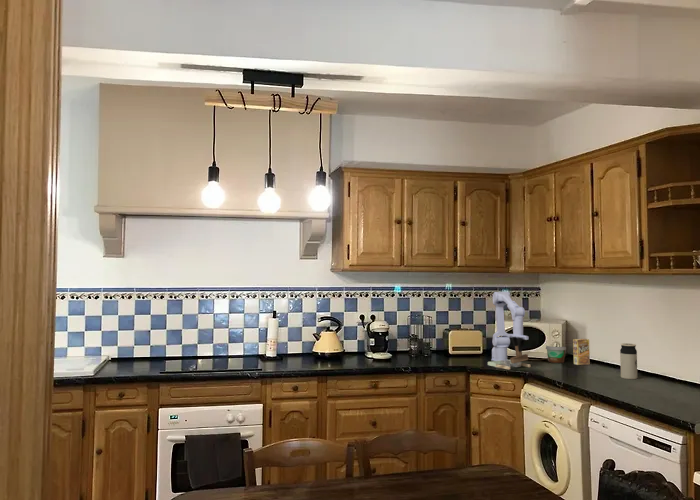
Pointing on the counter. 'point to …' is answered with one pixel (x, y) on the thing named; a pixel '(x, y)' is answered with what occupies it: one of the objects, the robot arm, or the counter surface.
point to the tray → (494, 363)
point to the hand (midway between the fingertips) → (518, 350)
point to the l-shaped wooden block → (519, 356)
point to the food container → (556, 354)
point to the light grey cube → (506, 363)
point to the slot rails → (509, 367)
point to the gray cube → (516, 364)
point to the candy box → (581, 351)
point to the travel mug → (628, 361)
